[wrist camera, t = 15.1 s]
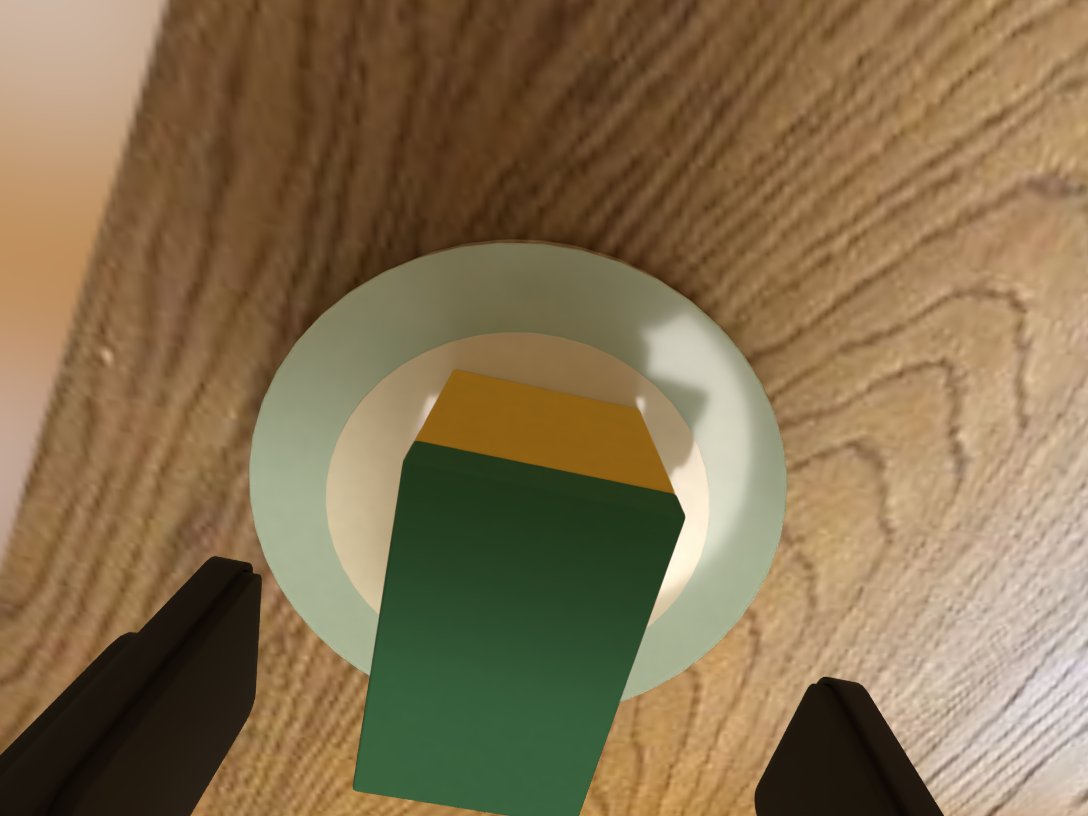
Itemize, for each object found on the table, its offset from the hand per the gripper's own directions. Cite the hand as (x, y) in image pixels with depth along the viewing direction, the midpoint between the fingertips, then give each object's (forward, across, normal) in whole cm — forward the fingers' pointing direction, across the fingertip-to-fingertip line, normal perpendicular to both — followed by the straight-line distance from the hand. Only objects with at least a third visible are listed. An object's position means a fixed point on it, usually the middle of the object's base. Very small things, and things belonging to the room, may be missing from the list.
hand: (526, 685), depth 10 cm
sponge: (+6, 0, 0) cm, 6 cm away
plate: (+7, 0, 0) cm, 7 cm away
